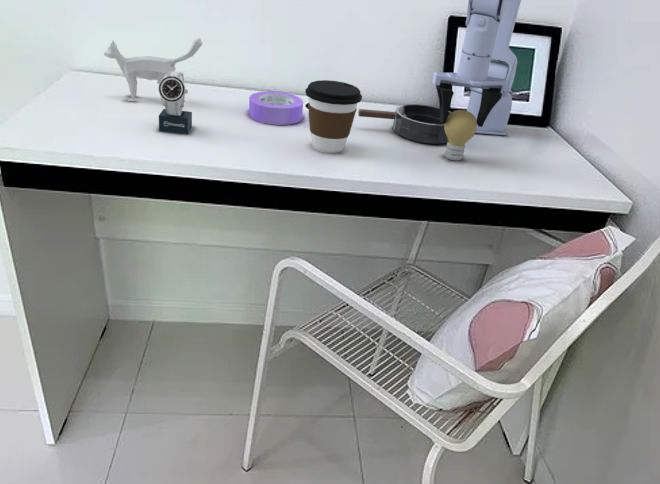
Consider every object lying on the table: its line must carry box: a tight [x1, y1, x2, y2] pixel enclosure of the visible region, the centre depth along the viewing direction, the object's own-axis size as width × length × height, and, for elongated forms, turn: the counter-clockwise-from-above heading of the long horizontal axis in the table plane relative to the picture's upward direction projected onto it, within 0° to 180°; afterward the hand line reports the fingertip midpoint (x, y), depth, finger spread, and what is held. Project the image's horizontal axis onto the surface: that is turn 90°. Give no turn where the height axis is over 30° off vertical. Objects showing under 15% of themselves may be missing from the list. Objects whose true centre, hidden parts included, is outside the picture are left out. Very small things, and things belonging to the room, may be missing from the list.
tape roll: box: [248, 90, 304, 126], centre depth 139 cm, size 12×12×4 cm
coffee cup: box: [304, 79, 363, 154], centre depth 124 cm, size 11×11×12 cm
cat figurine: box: [103, 37, 203, 102], centre depth 135 cm, size 4×20×14 cm, turn 97°
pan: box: [392, 103, 453, 145], centre depth 141 cm, size 14×14×4 cm
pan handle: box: [357, 108, 396, 120], centre depth 138 cm, size 8×2×2 cm, turn 97°
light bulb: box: [444, 109, 477, 162], centre depth 128 cm, size 6×6×10 cm
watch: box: [157, 71, 193, 135], centre depth 123 cm, size 6×8×11 cm
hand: (461, 123), depth 127 cm, fingers open, 7 cm apart
